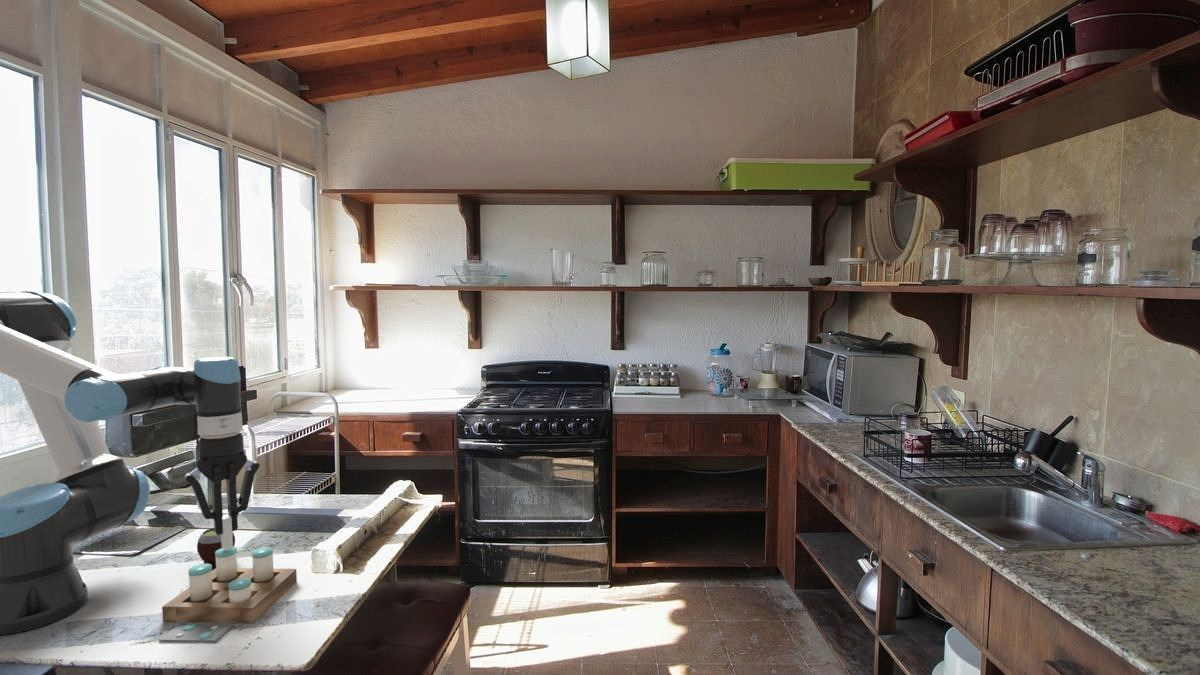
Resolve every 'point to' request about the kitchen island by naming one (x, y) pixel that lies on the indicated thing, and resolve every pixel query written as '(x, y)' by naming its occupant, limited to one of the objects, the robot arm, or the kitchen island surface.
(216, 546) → the mate gourd
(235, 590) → the button
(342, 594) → the kitchen island surface
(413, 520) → the kitchen island surface
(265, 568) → the button
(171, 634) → the card
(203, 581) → the button
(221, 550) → the button
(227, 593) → the board
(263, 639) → the kitchen island surface
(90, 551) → the kitchen island surface
